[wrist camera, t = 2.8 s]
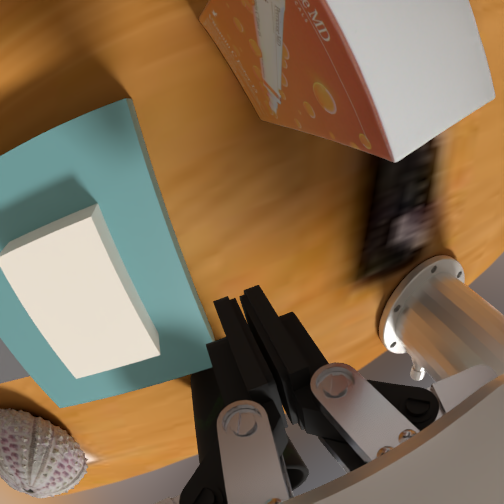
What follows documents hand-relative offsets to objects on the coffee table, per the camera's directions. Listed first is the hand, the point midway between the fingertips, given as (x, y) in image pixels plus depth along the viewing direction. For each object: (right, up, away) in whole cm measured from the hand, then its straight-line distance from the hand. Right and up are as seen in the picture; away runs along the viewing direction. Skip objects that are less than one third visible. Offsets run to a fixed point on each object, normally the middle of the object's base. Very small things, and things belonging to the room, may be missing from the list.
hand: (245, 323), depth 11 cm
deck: (-11, +2, +9) cm, 14 cm away
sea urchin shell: (-25, -18, +15) cm, 34 cm away
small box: (+1, +15, +6) cm, 17 cm away
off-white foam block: (-9, 0, +5) cm, 11 cm away
